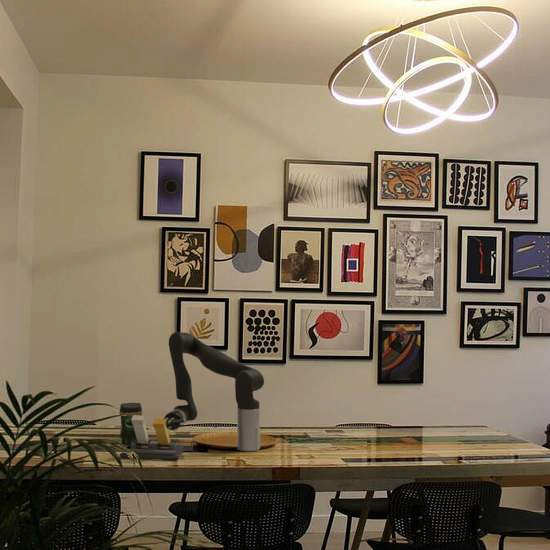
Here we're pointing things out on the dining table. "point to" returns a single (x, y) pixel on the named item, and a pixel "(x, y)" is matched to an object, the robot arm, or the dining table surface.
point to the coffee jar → (128, 422)
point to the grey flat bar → (152, 454)
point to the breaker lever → (161, 432)
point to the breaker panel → (155, 446)
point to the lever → (140, 430)
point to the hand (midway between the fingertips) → (163, 426)
